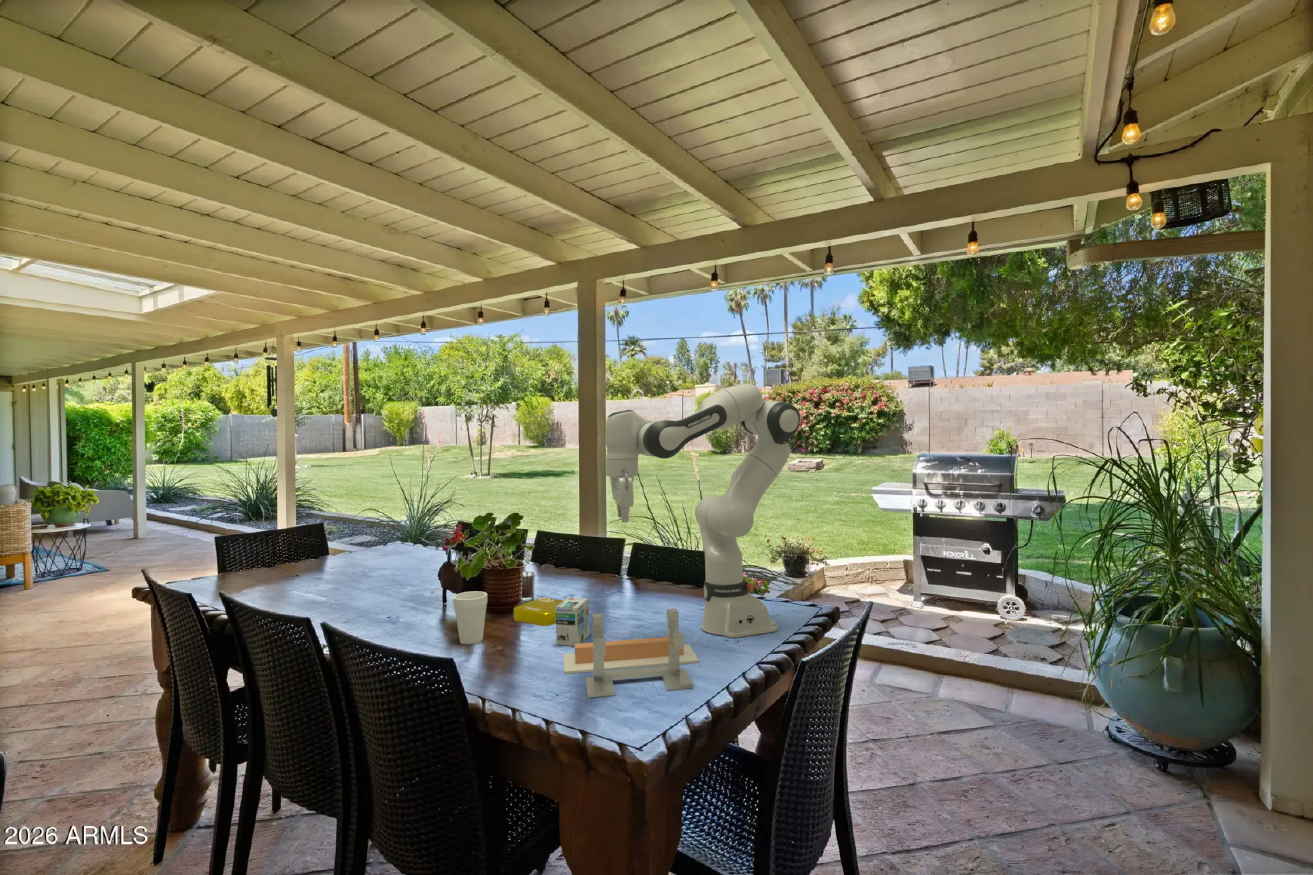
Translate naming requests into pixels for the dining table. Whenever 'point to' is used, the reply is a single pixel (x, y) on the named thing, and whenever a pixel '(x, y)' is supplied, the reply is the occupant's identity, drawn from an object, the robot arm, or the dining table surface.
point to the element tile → (537, 611)
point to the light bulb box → (572, 621)
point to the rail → (625, 650)
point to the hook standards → (670, 674)
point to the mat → (627, 662)
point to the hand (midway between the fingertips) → (623, 519)
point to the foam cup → (470, 615)
